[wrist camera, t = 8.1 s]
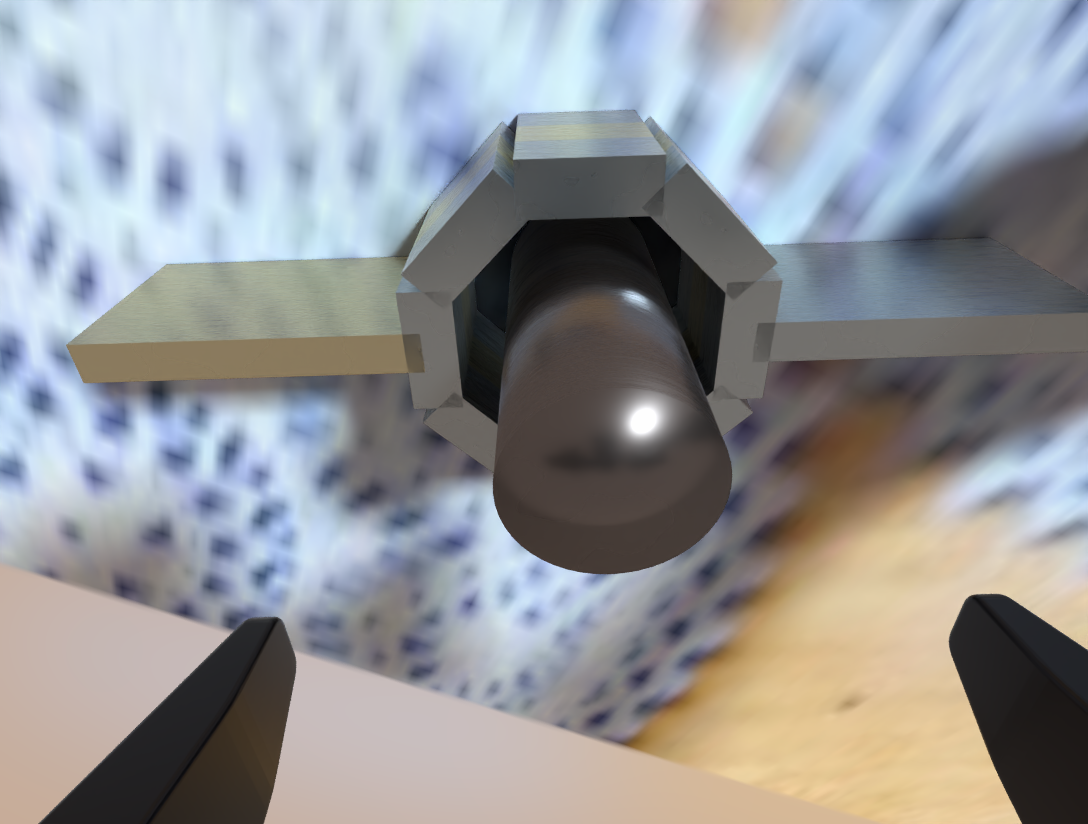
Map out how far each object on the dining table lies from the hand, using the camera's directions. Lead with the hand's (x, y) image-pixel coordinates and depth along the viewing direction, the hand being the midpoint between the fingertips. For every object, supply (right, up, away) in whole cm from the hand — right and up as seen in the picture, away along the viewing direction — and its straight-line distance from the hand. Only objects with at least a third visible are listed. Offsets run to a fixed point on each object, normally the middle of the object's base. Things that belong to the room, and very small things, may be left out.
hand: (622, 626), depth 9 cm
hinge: (0, +7, +11) cm, 13 cm away
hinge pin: (0, +7, +11) cm, 13 cm away
